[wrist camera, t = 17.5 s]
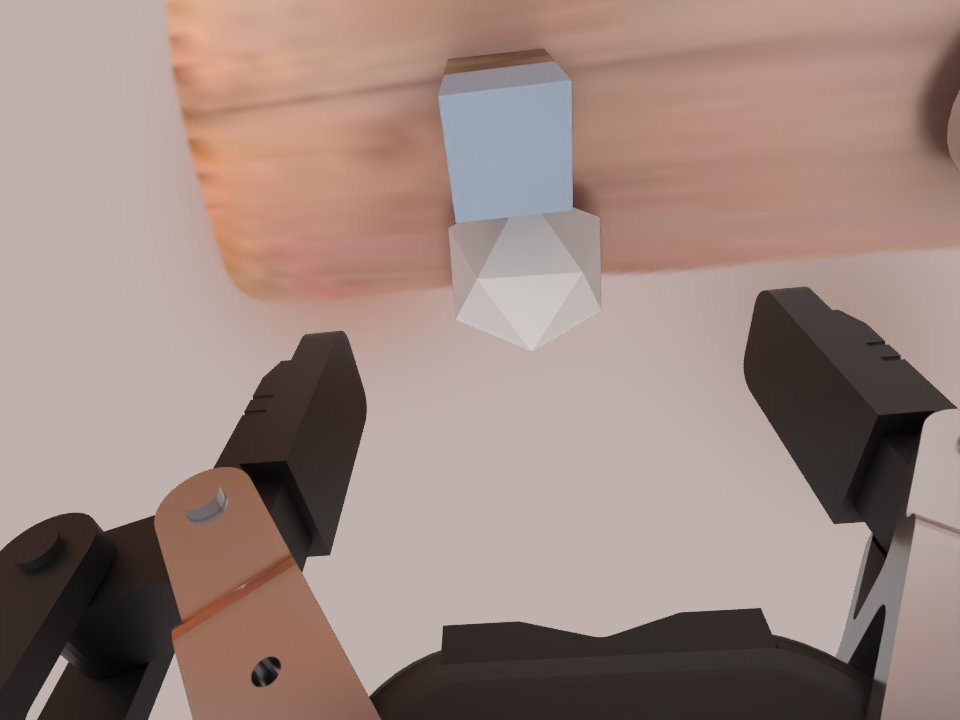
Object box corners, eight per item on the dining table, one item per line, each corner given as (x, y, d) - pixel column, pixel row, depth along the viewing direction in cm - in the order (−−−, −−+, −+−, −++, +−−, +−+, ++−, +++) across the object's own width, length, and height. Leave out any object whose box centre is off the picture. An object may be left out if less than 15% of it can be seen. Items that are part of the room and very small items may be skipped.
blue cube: (555, 61, 24) (571, 79, 20) (558, 174, 27) (572, 210, 23) (443, 74, 24) (437, 96, 20) (458, 185, 27) (455, 222, 23)
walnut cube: (543, 48, 28) (555, 62, 24) (546, 148, 31) (557, 175, 27) (448, 59, 29) (444, 74, 24) (459, 156, 31) (457, 184, 27)
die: (444, 156, 31) (462, 295, 38) (436, 243, 25) (459, 390, 32) (594, 145, 31) (584, 287, 38) (625, 230, 24) (606, 381, 31)
